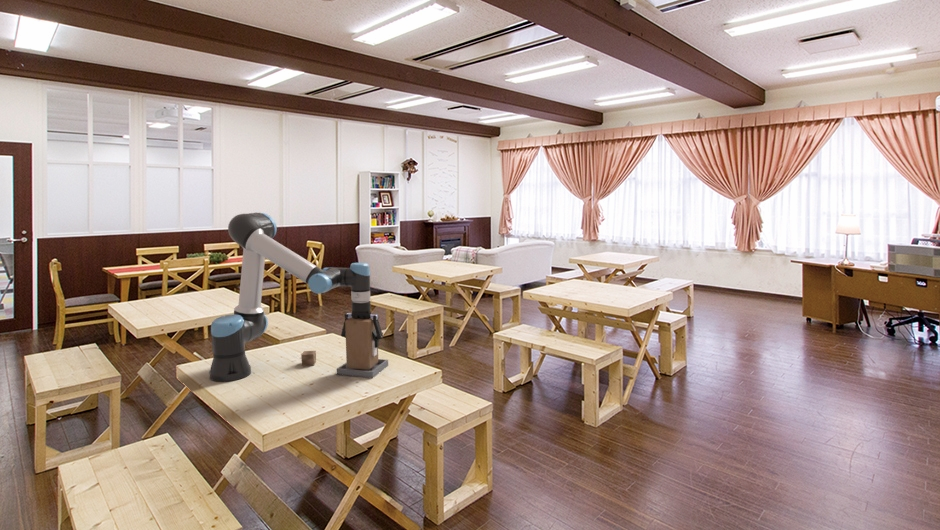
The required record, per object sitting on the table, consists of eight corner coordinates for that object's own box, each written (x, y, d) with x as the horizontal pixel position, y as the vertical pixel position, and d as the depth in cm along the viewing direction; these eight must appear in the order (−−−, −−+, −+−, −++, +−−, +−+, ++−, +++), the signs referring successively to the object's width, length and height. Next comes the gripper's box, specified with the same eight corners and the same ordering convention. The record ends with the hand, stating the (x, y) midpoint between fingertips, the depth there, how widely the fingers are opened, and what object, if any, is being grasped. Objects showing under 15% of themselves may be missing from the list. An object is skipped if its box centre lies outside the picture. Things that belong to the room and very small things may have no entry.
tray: (336, 374, 207) (336, 368, 206) (354, 362, 222) (354, 357, 221) (372, 378, 203) (372, 371, 203) (388, 365, 218) (388, 359, 218)
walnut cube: (301, 366, 218) (301, 354, 217) (304, 362, 223) (303, 351, 222) (313, 365, 218) (313, 354, 218) (316, 361, 223) (315, 350, 222)
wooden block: (369, 370, 206) (368, 321, 204) (346, 368, 208) (344, 320, 206) (378, 362, 216) (377, 315, 213) (356, 360, 218) (355, 314, 215)
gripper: (330, 301, 208) (332, 355, 211) (383, 304, 202) (384, 359, 205) (339, 298, 215) (341, 349, 218) (390, 300, 209) (391, 353, 212)
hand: (362, 354), depth 211 cm, fingers closed on wooden block, 10 cm apart
